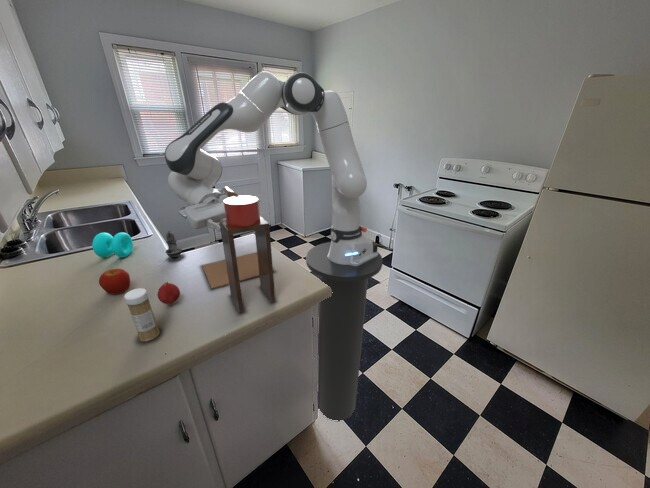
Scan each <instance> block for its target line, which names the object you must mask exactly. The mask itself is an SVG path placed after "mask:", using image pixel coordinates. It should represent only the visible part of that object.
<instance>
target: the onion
mask: <svg viewBox="0 0 650 488" xmlns="http://www.w3.org/2000/svg"><path fill="white" fill-rule="evenodd" d="M156 296H157V298H158V300H159V302H160V303H162V304H165V305H170V306H171V305H174V304H175V303H176V302H177V301H178V299H179V298H180V296H181V290H180V288H179V287H178V286H177V285H176V284H175V283H170V282H169V281H165V282H164V283H163V284H162V285H161V286H160V287H159V288H158V291H157V295H156Z"/></svg>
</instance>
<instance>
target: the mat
mask: <svg viewBox="0 0 650 488" xmlns="http://www.w3.org/2000/svg"><path fill="white" fill-rule="evenodd" d="M236 259H237V266H238V273H239V280H240V282H243V281H248V280H250V279H254V278H258V277H260V276H259V266H258V256H257V252H254V253H253V252H252V253H250V254H249V253H248V254H245V255H240V256H236ZM201 266H202V270H203V271H204V273H205V276H206V279H207V281H208V283H209V286H210V288H211V290H214V289H217V288H221V287H224V286H229V280H228V273H227V267H226V261H225V259H223V260H219V261H215V262H209V263H206V264H202V265H201ZM274 272H275V270H273V273H274Z"/></svg>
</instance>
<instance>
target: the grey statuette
mask: <svg viewBox="0 0 650 488" xmlns="http://www.w3.org/2000/svg"><path fill="white" fill-rule="evenodd" d="M165 238H166V244H167V246H168V247H167V249H166V250H165V254H166V255H167V257H168V258H167V260H168V262H179V261H181V260H182V259H183V258H184V256H183V255H182V251H183V248H182V247H181V246H178V243H177V242H178V241H177V239H176V237H175V234H174V233H173V232H171V231H170V230H168V232H167V233H166V234H165Z"/></svg>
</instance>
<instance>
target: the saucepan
mask: <svg viewBox="0 0 650 488" xmlns="http://www.w3.org/2000/svg"><path fill="white" fill-rule="evenodd" d="M222 189H223V193H224V194H225V195H226V196H227V197H228V198H227V199H225V200H224V201H223V203H224V210H225V217H226V223H227V224H228V225H229V226H233V227H247V226H252V225H255V224H257V223H259V222H260V216H261V213H260V201H259V198H258V197H257V196H253V195H239V194H238V193H236V192H235V191H234V190H232V189H231V188H230V187H229V186H224V187H223V188H222Z"/></svg>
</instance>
